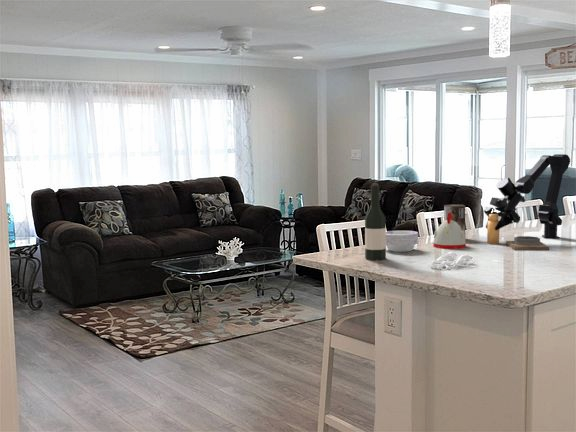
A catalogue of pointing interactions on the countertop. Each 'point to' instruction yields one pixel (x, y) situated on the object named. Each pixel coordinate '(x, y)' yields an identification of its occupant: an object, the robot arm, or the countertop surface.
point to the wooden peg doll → (492, 229)
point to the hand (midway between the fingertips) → (490, 228)
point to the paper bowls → (401, 240)
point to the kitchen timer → (449, 235)
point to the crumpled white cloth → (451, 261)
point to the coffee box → (456, 214)
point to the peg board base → (527, 243)
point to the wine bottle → (375, 229)
